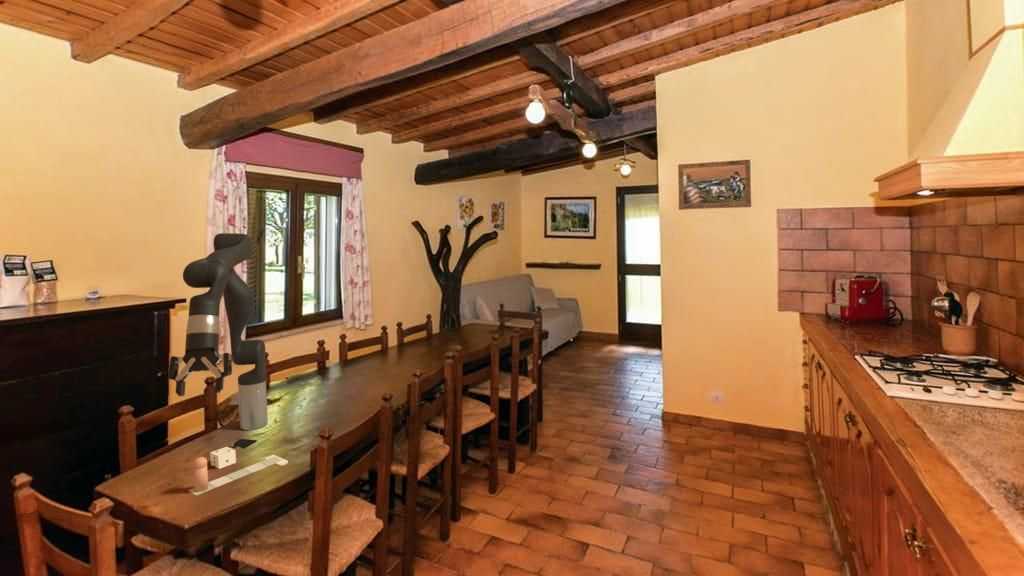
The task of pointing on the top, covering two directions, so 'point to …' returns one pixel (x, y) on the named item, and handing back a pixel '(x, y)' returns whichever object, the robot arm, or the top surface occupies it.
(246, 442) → the smartphone
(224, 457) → the die
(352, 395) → the top surface
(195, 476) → the pawn
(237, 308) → the robot arm
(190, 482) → the top surface
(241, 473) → the board
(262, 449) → the top surface
